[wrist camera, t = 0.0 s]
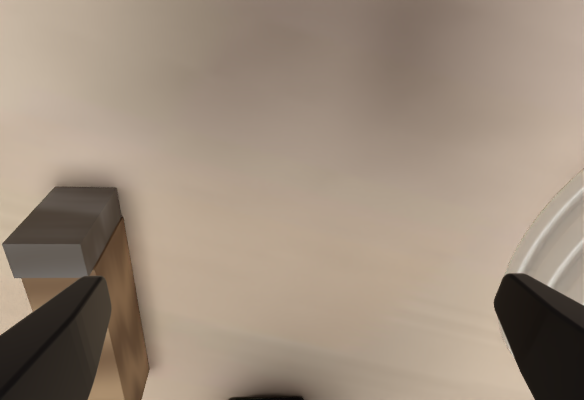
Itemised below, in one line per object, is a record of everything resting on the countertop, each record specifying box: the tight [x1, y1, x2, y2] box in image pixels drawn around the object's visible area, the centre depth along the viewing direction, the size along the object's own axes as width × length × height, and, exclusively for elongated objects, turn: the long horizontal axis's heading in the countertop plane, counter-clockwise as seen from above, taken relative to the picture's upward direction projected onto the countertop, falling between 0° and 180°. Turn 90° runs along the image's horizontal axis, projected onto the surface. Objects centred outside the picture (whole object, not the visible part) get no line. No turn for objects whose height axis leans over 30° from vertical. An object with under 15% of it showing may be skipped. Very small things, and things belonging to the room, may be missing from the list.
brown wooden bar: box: [2, 187, 149, 400], centre depth 25 cm, size 16×4×6 cm, turn 177°
